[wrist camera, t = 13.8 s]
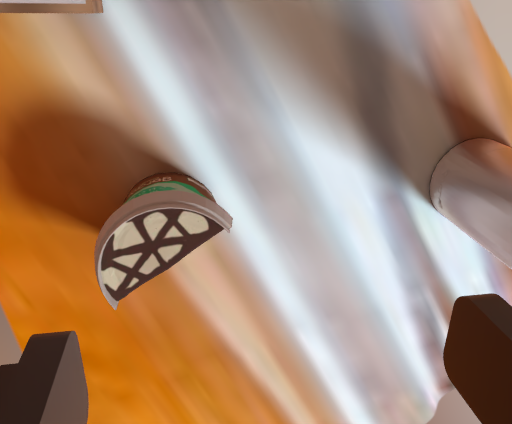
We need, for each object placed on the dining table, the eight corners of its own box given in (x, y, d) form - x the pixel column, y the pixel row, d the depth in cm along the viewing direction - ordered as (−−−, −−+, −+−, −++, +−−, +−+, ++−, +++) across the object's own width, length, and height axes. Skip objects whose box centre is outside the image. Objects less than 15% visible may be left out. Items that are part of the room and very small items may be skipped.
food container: (185, 133, 42) (187, 168, 33) (223, 184, 44) (235, 229, 35) (80, 208, 43) (54, 261, 34) (123, 253, 46) (110, 313, 37)
